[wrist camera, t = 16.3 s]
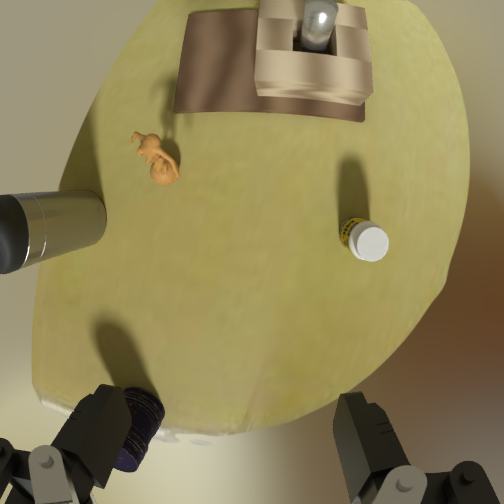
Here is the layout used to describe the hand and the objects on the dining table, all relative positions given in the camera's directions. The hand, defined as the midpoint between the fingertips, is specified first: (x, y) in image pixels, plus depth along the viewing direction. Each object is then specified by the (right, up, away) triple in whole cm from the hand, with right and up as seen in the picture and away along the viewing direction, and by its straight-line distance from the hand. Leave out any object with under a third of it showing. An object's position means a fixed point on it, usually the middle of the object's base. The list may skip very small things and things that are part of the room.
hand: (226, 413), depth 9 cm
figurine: (-10, +18, +30) cm, 36 cm away
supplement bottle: (+15, +8, +29) cm, 34 cm away
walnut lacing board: (+4, +34, +25) cm, 42 cm away
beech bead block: (+9, +33, +23) cm, 41 cm away
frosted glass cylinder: (+9, +33, +23) cm, 41 cm away
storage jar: (-21, -25, +39) cm, 51 cm away
